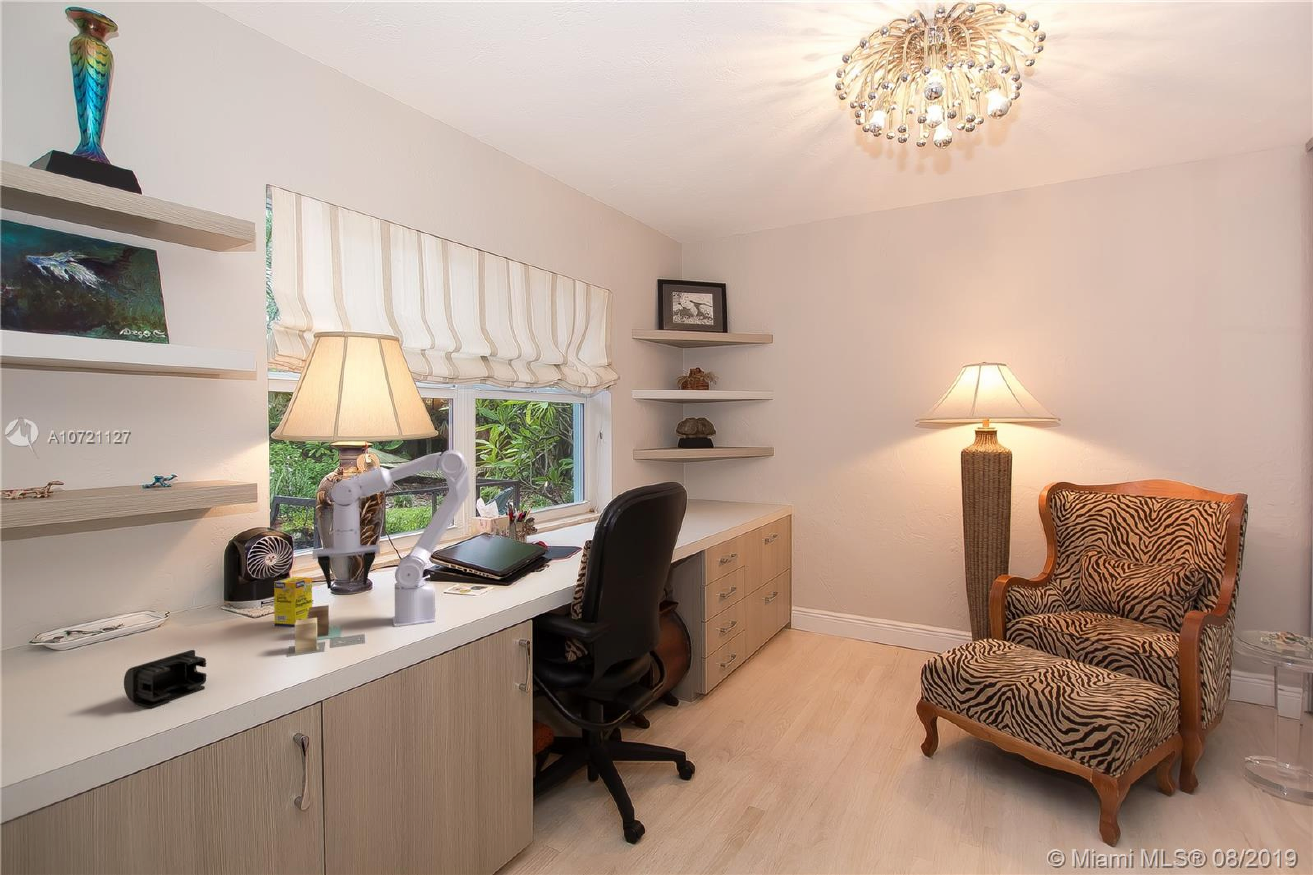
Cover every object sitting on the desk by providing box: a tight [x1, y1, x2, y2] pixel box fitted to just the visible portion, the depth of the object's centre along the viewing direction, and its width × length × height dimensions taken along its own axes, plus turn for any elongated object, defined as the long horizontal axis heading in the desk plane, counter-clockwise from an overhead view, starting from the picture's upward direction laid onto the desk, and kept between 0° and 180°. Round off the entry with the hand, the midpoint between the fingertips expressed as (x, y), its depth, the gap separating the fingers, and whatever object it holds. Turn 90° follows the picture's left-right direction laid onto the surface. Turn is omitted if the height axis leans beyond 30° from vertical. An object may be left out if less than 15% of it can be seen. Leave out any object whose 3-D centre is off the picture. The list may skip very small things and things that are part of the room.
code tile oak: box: [286, 641, 326, 658], centre depth 137 cm, size 7×7×1 cm
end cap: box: [123, 649, 208, 710], centre depth 114 cm, size 10×7×7 cm
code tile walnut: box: [329, 633, 366, 649], centre depth 143 cm, size 7×7×1 cm
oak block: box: [294, 618, 318, 653], centre depth 137 cm, size 4×4×6 cm
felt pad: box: [317, 625, 342, 641], centre depth 147 cm, size 9×9×1 cm
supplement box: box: [273, 576, 313, 628], centre depth 156 cm, size 6×6×11 cm
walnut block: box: [308, 604, 330, 637], centre depth 147 cm, size 4×4×6 cm
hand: (347, 585), depth 153 cm, fingers open, 7 cm apart
